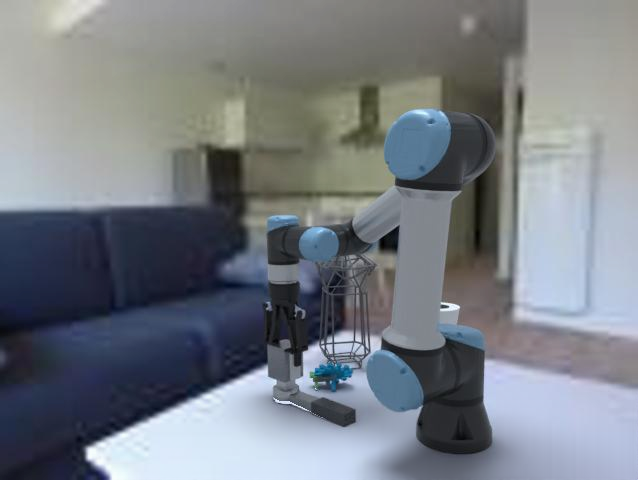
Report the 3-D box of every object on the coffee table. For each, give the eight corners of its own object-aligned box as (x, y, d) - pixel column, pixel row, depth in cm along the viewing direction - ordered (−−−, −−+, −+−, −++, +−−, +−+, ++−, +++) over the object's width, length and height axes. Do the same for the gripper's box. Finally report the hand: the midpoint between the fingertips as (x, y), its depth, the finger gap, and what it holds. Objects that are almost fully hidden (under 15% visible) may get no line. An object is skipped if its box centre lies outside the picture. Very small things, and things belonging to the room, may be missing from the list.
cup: (417, 375, 153) (417, 309, 151) (421, 363, 163) (422, 301, 161) (457, 379, 150) (458, 312, 148) (460, 366, 160) (461, 303, 158)
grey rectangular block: (303, 376, 137) (302, 343, 136) (284, 382, 133) (284, 349, 132) (286, 370, 142) (286, 339, 141) (268, 376, 137) (267, 344, 136)
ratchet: (359, 419, 126) (359, 388, 125) (339, 428, 121) (339, 397, 121) (287, 392, 142) (286, 365, 142) (267, 399, 138) (266, 371, 137)
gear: (355, 375, 149) (349, 358, 141) (356, 397, 145) (349, 380, 138) (314, 379, 151) (305, 362, 143) (314, 401, 147) (305, 384, 139)
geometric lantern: (313, 358, 168) (311, 241, 164) (364, 355, 171) (364, 239, 167) (323, 377, 153) (321, 247, 149) (379, 372, 156) (379, 245, 152)
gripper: (323, 283, 131) (324, 380, 133) (269, 274, 144) (271, 363, 147) (300, 288, 125) (301, 389, 128) (246, 278, 139) (248, 370, 141)
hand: (285, 375), depth 137 cm, fingers closed on grey rectangular block, 6 cm apart
